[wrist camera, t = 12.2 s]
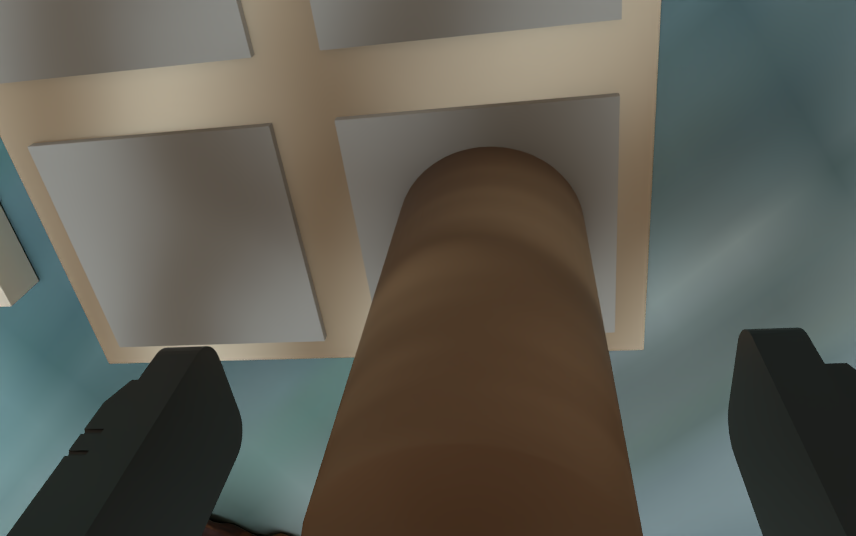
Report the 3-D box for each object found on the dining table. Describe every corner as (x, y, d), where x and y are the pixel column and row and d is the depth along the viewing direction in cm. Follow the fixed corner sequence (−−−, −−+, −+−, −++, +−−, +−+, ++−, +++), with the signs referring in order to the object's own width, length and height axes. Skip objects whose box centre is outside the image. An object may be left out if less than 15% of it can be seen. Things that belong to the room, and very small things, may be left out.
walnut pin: (413, 313, 16) (339, 654, 9) (384, 155, 14) (262, 446, 7) (586, 304, 15) (641, 664, 9) (582, 138, 13) (653, 439, 7)
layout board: (130, 336, 19) (105, 368, 18) (-146, -283, 12) (-217, -296, 11) (635, 319, 17) (644, 355, 16) (669, -457, 10) (689, -497, 9)
